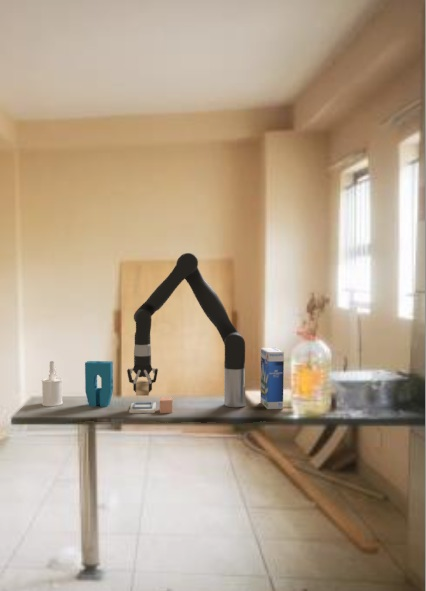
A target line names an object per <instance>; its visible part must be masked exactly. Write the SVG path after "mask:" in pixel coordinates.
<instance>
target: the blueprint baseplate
mask: <svg viewBox="0 0 426 591" xmlns="http://www.w3.org/2000/svg"><path fill="white" fill-rule="evenodd" d="M156 407H157V402H156V401H155V402H153V401H143V402H142V401H141V402H140V401H136V402H132V403H131V404H130V408H129V410H128V413H129V414H153V413H154V414H155V412H156Z"/></svg>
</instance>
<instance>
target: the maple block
mask: <svg viewBox="0 0 426 591" xmlns="http://www.w3.org/2000/svg"><path fill="white" fill-rule="evenodd" d="M149 394H150V392H149V382H148V380H137V382H136V392H135V396H137V397H138V396H142V397H143V396H147V397H148V396H149Z"/></svg>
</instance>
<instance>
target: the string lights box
mask: <svg viewBox="0 0 426 591" xmlns="http://www.w3.org/2000/svg"><path fill="white" fill-rule="evenodd" d="M284 359H285V352H284V351H282V350H281V349H279V348H276V347H261V348H260V403H261V404H262V406H264V407H265V408H266V409H267V410H282V409H284V372H285V370H284V366H285V363H284V362H285V360H284Z"/></svg>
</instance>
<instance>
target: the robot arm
mask: <svg viewBox="0 0 426 591" xmlns="http://www.w3.org/2000/svg"><path fill="white" fill-rule="evenodd" d="M198 266H199V260H198V258H197V256H196V255H194V254H193V253H190V252H186V253H183V254H181V255H180V256H179V257H178V259H177V260H176V264H175V266H174V268H173V269H172V271H171V272H170V273H169V274H168V276H167V277H166V278H165V279H164V280H163V281H162V282H161V283H160V284H159V285H158V286H157V287H156V289H155V290H154V291H152V293H151V294H150V295H149V297H148V298H147V299H146V300H145V302H143V303H142V304H141V305H140V306H139V307H138V308H137V310H136V311H135V312H134V314H133V321H134V322H135V333H134V348H133V367H132V368H128V369H127V370H126V374H127V378H128V382H129V384H130V383H131V384H132V386H133V392H134V393H136V382H137V381H138V379H139V378H146V381H148V382H149V393H151V392H152V391H153V384H154V383H156V381H157V377H158V373H159V372H158V371H159V368H154V367H152V345H151V330H152V316H153V315H154V314H155V313H156V311H159V310H161V309H162V307H163V306H164V305H165V303H166V302H167V301H168V299H170V297H171V296H172V295H173V293H174V292H175V291H176V289H177V287H178V286H179V285H180V284H181V283H182V282H183V281H184V280H185V281H186V283H187V284H188V285H189V286H190V289H191V290H192V293H193V296H194V297H195V298H196V301H197V302H198V304H199V306H200V307H201V309H202V311H203V313H204V314H205V316H206V317H207V318H208V319H209V321H210V322H211V323H212V324H213V325H214V327H215V328H216V330H217V331H218V334H219V335H220V338H221V340H222V342H223V344H224V364H223V365H224V368H223V369H224V370H223V372H224V376H223V377H224V379H223V380H224V383H223V384H224V389H223V390H224V392H223V393H224V398H223V399H224V406H225V407H228V408H240V407H246V384H245V378H246V377H245V368H246V367H245V364H246V363H245V362H246V342H245V339H244V337H243V336H242V335H241V333H240V332H239V331H238V330H237V327H235V325H233V323H232V321H231V319H230V317H229V315H228V312H227V310H226V308H225V305H224V304H223V302H222V301H221V299H220V297H219V295H218V293H217V292H216V291H215V290H214V289H213V287H212V286H211V285H210V284H209V283H208V282H207V281H206V280H205V278H204V277H203V274H202V273H201V271H200V269H199V267H198ZM151 372H152V373H153V374H154V375H153V378H151V376H150V374H151ZM133 373H134V374H135V377H134V379H133V376H132V374H133Z"/></svg>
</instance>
